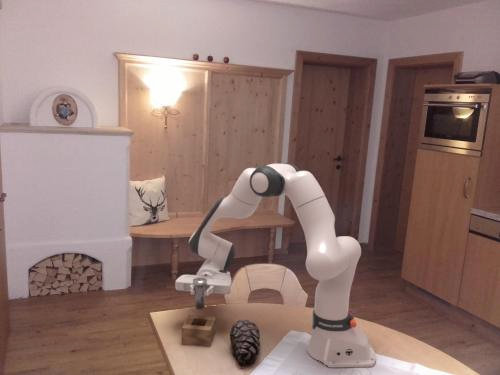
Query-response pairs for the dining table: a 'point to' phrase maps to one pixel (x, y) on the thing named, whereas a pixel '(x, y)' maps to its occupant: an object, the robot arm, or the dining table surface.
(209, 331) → the socket block
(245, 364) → the pine cone
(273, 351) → the dining table surface
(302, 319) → the dining table surface
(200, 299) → the pin
